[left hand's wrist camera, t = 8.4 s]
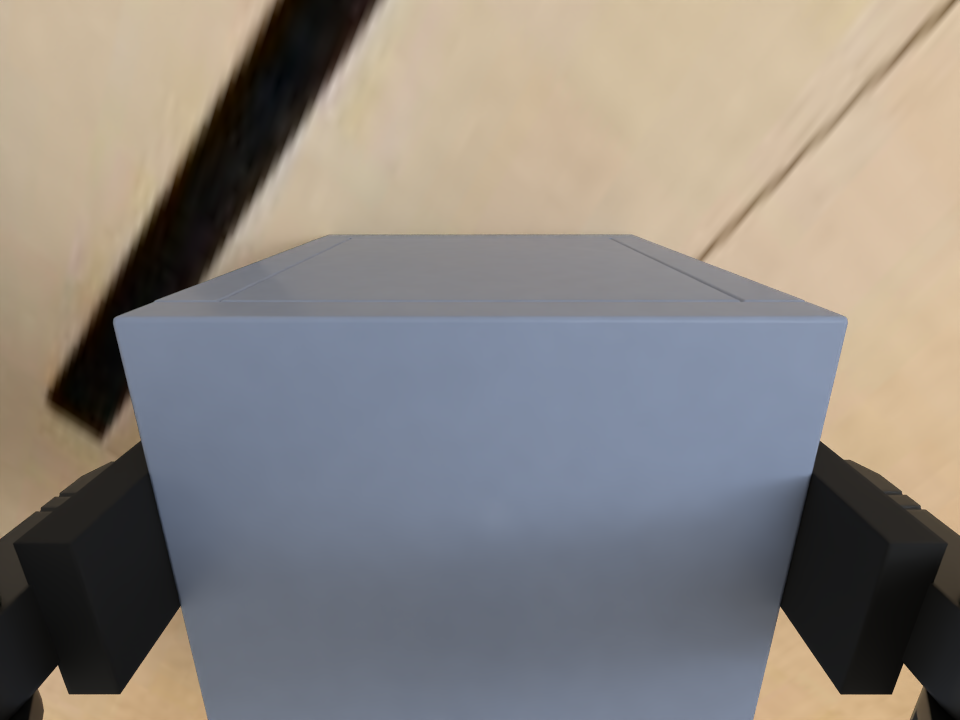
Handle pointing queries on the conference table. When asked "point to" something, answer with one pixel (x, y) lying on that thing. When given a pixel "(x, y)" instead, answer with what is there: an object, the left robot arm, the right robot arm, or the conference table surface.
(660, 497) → the cabinet
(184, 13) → the conference table surface
